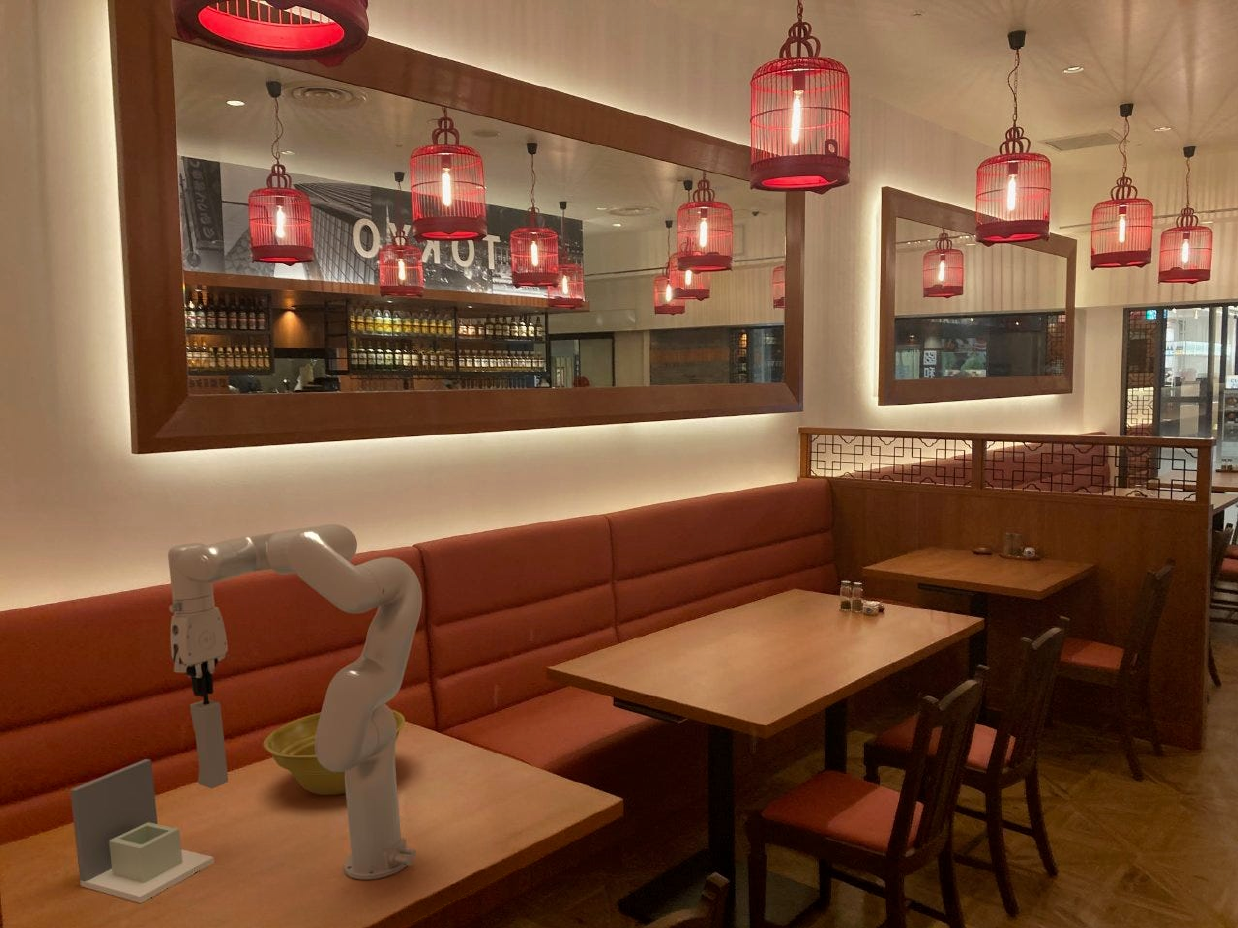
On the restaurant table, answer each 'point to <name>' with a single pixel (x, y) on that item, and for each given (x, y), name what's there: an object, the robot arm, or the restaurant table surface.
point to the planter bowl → (308, 754)
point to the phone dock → (127, 837)
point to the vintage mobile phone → (209, 741)
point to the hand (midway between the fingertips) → (203, 694)
